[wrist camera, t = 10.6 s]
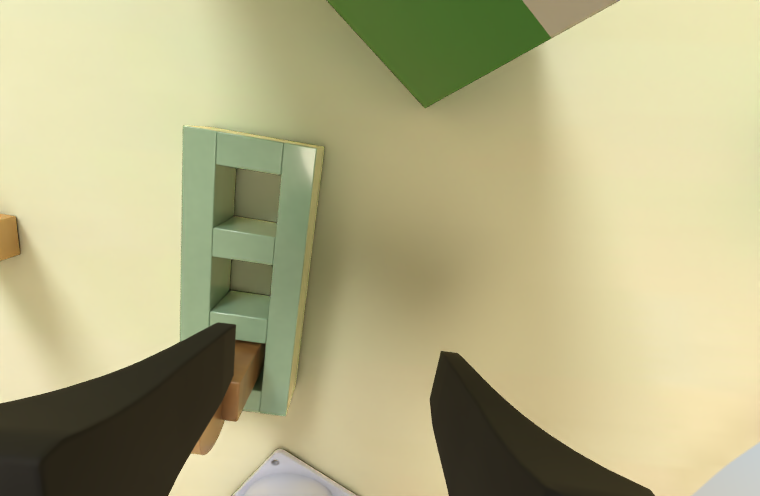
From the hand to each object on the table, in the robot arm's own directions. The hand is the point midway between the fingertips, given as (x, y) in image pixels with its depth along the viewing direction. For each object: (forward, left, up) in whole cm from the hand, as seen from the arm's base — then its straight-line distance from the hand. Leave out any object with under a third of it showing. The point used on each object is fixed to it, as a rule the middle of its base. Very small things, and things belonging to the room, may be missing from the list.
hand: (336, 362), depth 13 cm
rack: (-4, +4, -10) cm, 12 cm away
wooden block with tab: (-8, +2, -10) cm, 13 cm away
